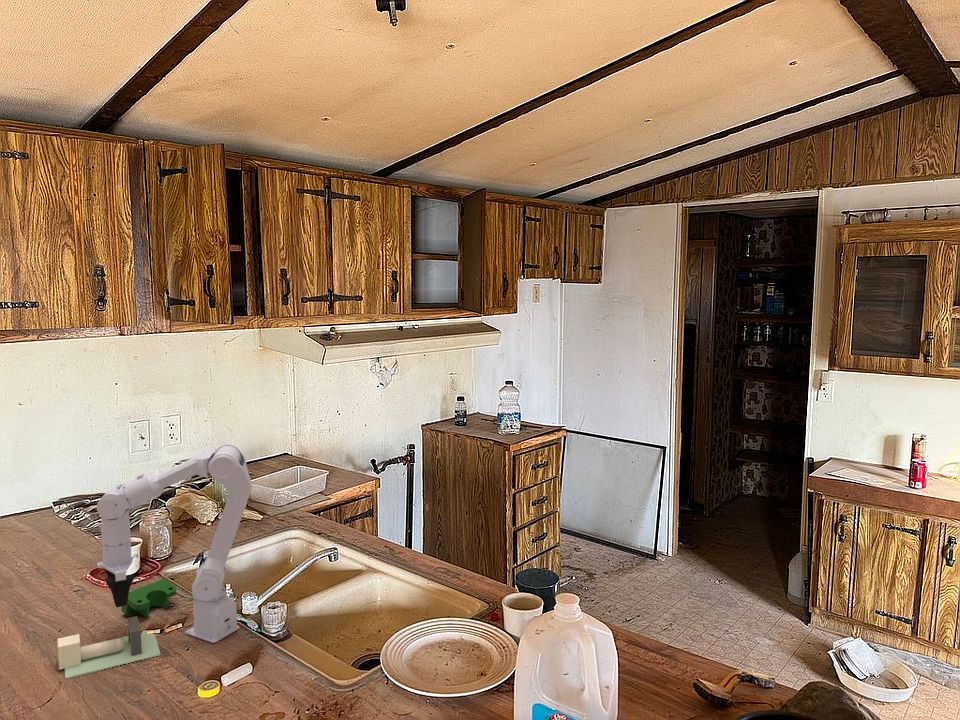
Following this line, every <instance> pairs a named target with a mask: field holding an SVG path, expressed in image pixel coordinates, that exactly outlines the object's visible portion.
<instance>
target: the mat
mask: <svg viewBox="0 0 960 720" xmlns="http://www.w3.org/2000/svg"><path fill="white" fill-rule="evenodd" d="M145 632H146V631H143V632H141V647H142V654H138V655H134V656H131V643H129V641H128V635H125V636H122V637H117V638H116V639H122V640H123V642H124V647H123V649H122V650H121V651H119V652H115V653H111V654H107V655H103V656H99V657H94V658H90V659H86V660H82V661H81V665H77V666H73V667H69V668H64V679H65V680H69V679H74V678H78V677H80V676H85V675H88V674H94V673H97V671H98V672H101V670H102V671H105V670H104V669H106V670H109V669H108V668H110V669H113V668H112V667H114V668H116V667H115V666H118V667H121V666H120V665H122V666H124V665H123V664H126V665H129V664H128V663H130V664H132V663H131V662H134V663H136V662H135V661H138V662H140V661H139V660H142V661H145V660H144V659H146V660H148V659H149V658H150V659H153V658H152V657H154V658H157V657H156V656H158V657H161V656H160V655H162V654H161V650H160V648H159V643H158V639H157V638H156V637H157V636H156V633H155V634H147V633H145ZM113 639H114V638H113ZM113 639H111V640H113ZM109 640H110V639H109ZM109 640H107V641H109ZM100 642H101V641H100ZM100 642H98V643H100ZM96 643H97V642H95V643H94V644H96ZM87 645H88V644H87ZM87 645H85V646H87ZM83 646H84V645H83ZM83 646H81V647H83ZM147 658H148V659H147Z"/></svg>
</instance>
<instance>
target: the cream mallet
mask: <svg viewBox="0 0 960 720" xmlns="http://www.w3.org/2000/svg"><path fill="white" fill-rule="evenodd" d="M80 637H81V636H80V633H78V634H72V635H69V636H63V637H60V638H57V655H58V656H57V657H58V658H57V659H58V670H63V669H64V670H65V668H69V667H73V666H77V665H81V661H82V660H86V659H90V658H94V657H99V656H103V655H107V654H111V653H115V652H119V651H121V650H122V649H123V647H124V642H123V640H122V639H117V638H113V640H112V639H109V641H108V640H104V641H100V643H99V642H95V643H96V644H95V643H92V644H87V646H86V645H83V647H82V646H81V640H80Z"/></svg>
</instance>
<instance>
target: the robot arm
mask: <svg viewBox="0 0 960 720" xmlns="http://www.w3.org/2000/svg"><path fill="white" fill-rule="evenodd" d="M246 460H247V459H246V457H245V455H244V454H243V453H242V451H241V450H240V449H239V448H238V447H237V446H235V445H233V444H223V445H220V446H219V447H218V448H213V449H208V450H207V451H205V452H203V453H200V454H198V455H196V456H193V457H191V458H189V459H188V460H186V461H184V462H182V463H180V464H178V465H175V466H174V467H171V468H170V469H168V470H166V471H163V472H161V473H159V474H155V473H151V472H148V473H146V474H145V473H144V472H142V473H140V474H138V475H137V476H136V478H135V479H134V480H131V481H129V482H126V483H124V484H122V483H120V484H117V486H116V487H113V488H110V489H109V490H107V491H106V492H105V494H103V495H102V496H101V497H100V498H99V500H98V502H96V503H97V504H96V511H97V513H98V515H99V516H100V520H101V521H100V522H101V523H100V528H101V529H100V531H101V533H100V534H101V546H102V547H101V548H102V549H101V550H102V561H99V562H97V565H96V566H97V568H98V569H103V570H104V571H105V574H106V576H107V577H105V579H104V581H105V583H106V585H107V587H108V588H109V589H110V592H111V595H112V598H113V603H114V605H115V607H116V608H120V607H122V606H126V605H127V601H128V595H129V592H130V588H131V586H132V584H133V582H134V580H135V574H134V573H131V574H127V571H128V569H129V568H130V566H131V565H132V563H133V556H132V541H131V539H132V538H131V522H130V514H129V513H130V512H129V510H130V509H134V508H137V507H139V506H141V505H144V504H146V503H148V502H150V501H151V500H154V499H157V498H158V497H160V496H161V495H162V494H163V490H164V489H165V488H167V487H169V486H172V485H175V484H176V483H177V484H178V483H179V482H182V481H184V480H186V479H189V478H191V477H194V476H199V477H203V478H208V477H209V476H211V477H212V478H213V479H214V480H216V481H217V482H219V483H220V484H221V485H223V486H224V488H225V490H226V491H227V493H228V497H227V500H226V503H225V505H224V507H223V510H222V513H221V516H220V518H219V522H218V525H217V527H216V530H215V533H214V536H213V539H212V542H211V544H210V548H209V550H208V554H207V556H206V559H205V560H204V561H203V562H202V564H201V565H200V566H199V567H198V570H197V575H196V577H195V580H194V581H193V582H192V586H191V593H192V600H193V601H192V604H193V608H192V609H193V610H192V611H193V627H191V628H189V629H187V630H185V634H186V635H188V636H192V637H194V638H198V639H199V640H204V641H206V642H208V643H211V644H215V643H218V642H219V641H220V640H222V639H224V638H226V637H227V636H229V635H231V634H233V633H235V632H236V631H237V630H239V629H240V626H239V625H238V618H237V615H238V614H237V613H238V612H237V611H238V610H237V608H238V607H237V603H236V602H235V600H233V599H232V598H230V597H229V596H228V594H227V589H226V587H225V586H224V584H223V582H224V579H225V577H226V574H227V573H226V572H227V570H226V562H227V560H228V557H229V554H230V551H231V548H232V545H233V543H234V540H235V538H236V535H237V532H238V529H239V527H240V524H241V520H242V518H243V515H244V512H245V509H246V507H247V504H248V501H249V498H250V495H251V492H252V487H253V482H252V480H251V476H250V471H249V469H248V465H247V461H246Z"/></svg>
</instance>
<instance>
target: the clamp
mask: <svg viewBox="0 0 960 720" xmlns="http://www.w3.org/2000/svg"><path fill="white" fill-rule="evenodd" d="M177 590H178V589H177V586H176V585H174V584H173V583H171V582H170V581H169V580H168V579H167V578H165V577H164V578H162V579H159V580H156V581H153V582H152V583H149V584H146V585H144V586H141V587H139V588H136V589H134V590H131V591H129V595H128V601H127V605H126V606H121V609H120V610H121V612H122V613H123V614H124V615H125V616H126V617H131V616H133V614H134V615H136V614H138V613H140V615H142V616H143V617H144V616H145V617H144V618H146V617H147V618H149V616H150V613H149V612H150V608H152V606H153V607H160V608H163V610H167V609H168V603H169V599H170V598H173V597H174V596H176V595H177ZM135 613H136V614H135ZM130 615H131V616H130Z"/></svg>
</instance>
